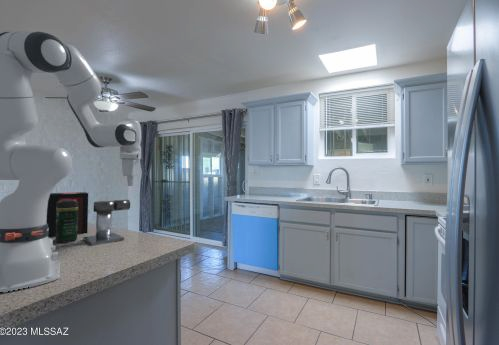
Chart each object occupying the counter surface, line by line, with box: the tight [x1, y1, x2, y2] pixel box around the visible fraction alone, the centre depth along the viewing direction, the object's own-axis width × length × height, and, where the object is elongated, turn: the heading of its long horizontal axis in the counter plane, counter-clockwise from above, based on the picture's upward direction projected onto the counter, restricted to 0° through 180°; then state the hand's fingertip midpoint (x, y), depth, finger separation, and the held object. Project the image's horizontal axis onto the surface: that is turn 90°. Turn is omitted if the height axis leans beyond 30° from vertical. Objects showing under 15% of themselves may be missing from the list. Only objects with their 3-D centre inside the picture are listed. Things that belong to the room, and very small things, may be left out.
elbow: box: [93, 199, 131, 213], centre depth 119 cm, size 15×8×5 cm, turn 137°
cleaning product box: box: [47, 191, 89, 238], centre depth 127 cm, size 16×9×20 cm, turn 130°
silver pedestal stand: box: [82, 211, 125, 246], centre depth 117 cm, size 13×13×13 cm
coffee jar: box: [54, 199, 78, 243], centre depth 115 cm, size 10×8×19 cm
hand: (130, 185), depth 117 cm, fingers closed
